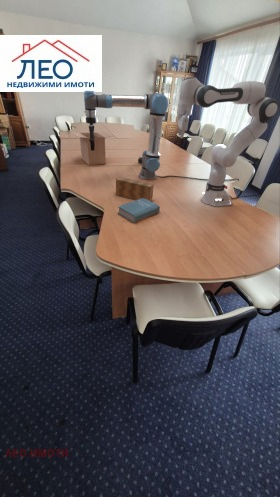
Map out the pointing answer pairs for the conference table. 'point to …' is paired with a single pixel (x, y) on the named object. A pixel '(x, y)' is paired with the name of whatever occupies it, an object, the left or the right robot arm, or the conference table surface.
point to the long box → (134, 189)
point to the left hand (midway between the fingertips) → (92, 148)
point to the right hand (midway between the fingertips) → (180, 136)
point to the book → (138, 209)
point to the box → (99, 148)
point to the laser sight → (140, 160)
